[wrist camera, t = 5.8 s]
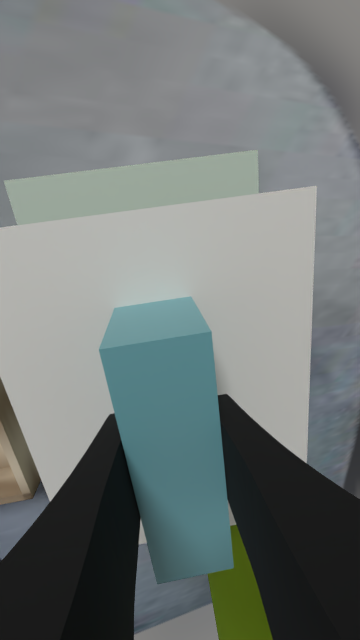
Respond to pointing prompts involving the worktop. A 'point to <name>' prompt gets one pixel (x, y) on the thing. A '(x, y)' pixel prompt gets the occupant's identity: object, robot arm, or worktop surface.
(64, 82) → the worktop surface
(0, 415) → the storage box
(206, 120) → the worktop surface
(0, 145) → the worktop surface
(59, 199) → the mat
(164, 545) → the lid
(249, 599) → the soap dispenser
